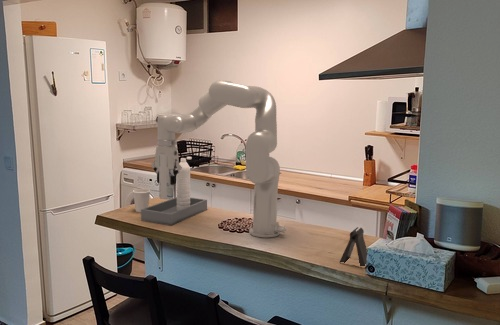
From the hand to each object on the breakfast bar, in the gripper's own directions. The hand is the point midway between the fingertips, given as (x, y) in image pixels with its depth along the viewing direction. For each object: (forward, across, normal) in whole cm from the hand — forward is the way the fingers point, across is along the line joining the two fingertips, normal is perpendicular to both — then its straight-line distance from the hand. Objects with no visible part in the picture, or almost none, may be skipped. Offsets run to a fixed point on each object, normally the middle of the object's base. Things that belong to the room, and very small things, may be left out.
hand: (166, 183), depth 195 cm
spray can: (+7, 0, 0) cm, 7 cm away
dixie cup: (+17, +18, -5) cm, 25 cm away
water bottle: (+15, -1, -14) cm, 21 cm away
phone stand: (+16, -87, +13) cm, 90 cm away
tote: (+16, 0, -7) cm, 18 cm away
